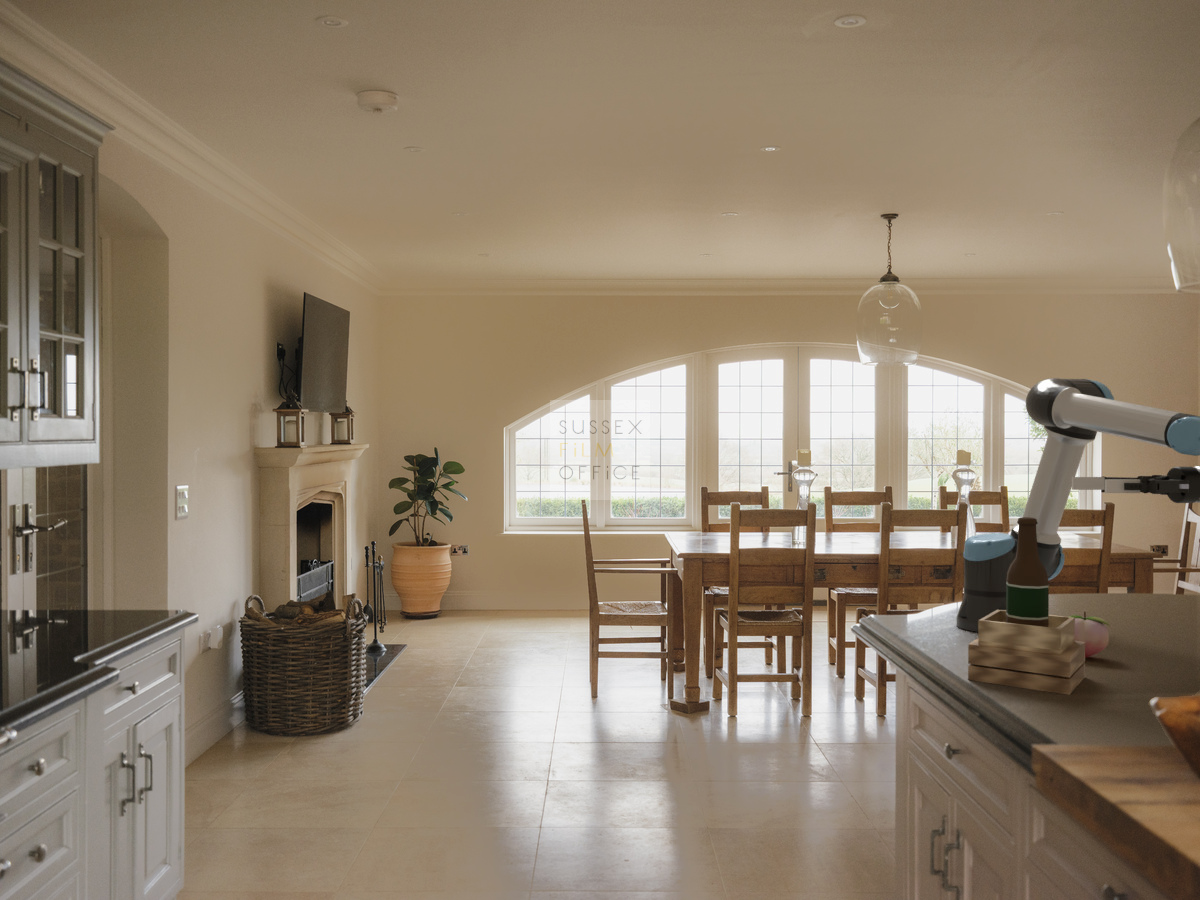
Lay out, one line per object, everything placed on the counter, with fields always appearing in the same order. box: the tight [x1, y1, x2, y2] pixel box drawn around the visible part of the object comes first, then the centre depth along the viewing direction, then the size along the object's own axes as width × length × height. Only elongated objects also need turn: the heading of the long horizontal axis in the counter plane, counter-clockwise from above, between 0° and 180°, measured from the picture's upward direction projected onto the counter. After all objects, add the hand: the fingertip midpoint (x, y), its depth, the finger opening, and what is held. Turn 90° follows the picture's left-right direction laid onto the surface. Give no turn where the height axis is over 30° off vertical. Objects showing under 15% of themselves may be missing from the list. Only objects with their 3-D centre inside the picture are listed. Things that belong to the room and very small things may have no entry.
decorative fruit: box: [1067, 611, 1110, 659], centre depth 198 cm, size 9×8×10 cm
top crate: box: [977, 610, 1075, 655], centre depth 180 cm, size 15×15×5 cm
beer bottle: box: [1006, 516, 1050, 627], centre depth 180 cm, size 8×8×24 cm
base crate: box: [967, 637, 1086, 696], centre depth 180 cm, size 18×16×7 cm
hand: (1088, 484), depth 188 cm, fingers open, 13 cm apart
